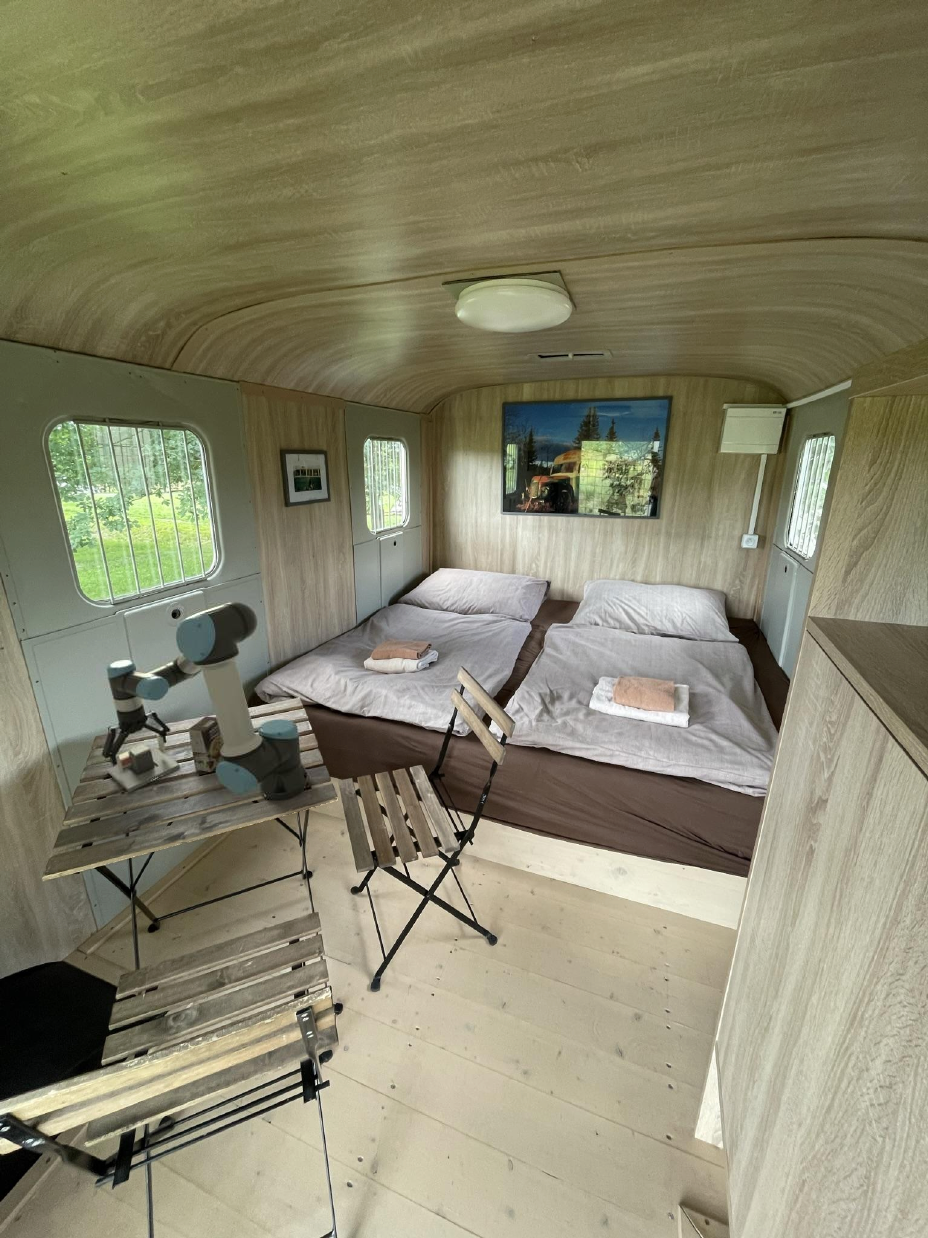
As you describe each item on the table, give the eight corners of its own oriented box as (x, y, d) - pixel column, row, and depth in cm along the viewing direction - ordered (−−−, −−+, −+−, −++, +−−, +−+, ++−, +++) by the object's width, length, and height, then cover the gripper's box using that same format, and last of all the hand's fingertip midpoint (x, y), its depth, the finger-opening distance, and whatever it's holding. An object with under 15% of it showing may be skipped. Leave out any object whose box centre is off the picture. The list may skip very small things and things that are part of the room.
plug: (154, 768, 171) (150, 748, 169) (139, 775, 167) (134, 755, 165) (148, 762, 174) (143, 743, 171) (132, 770, 170) (127, 750, 167)
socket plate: (179, 767, 173) (179, 764, 172) (129, 792, 160) (128, 788, 160) (157, 751, 181) (156, 747, 181) (107, 773, 169) (106, 769, 168)
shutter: (151, 755, 176) (149, 748, 175) (122, 768, 169) (121, 760, 168) (140, 747, 180) (138, 740, 179) (112, 759, 173) (110, 752, 172)
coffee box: (211, 772, 171) (204, 731, 166) (194, 769, 172) (187, 729, 167) (228, 756, 180) (222, 717, 174) (212, 754, 181) (205, 715, 175)
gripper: (163, 688, 174) (174, 740, 181) (80, 718, 155) (95, 775, 162) (174, 695, 170) (184, 748, 177) (90, 727, 151) (105, 785, 158)
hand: (142, 761), depth 170 cm, fingers open, 13 cm apart
